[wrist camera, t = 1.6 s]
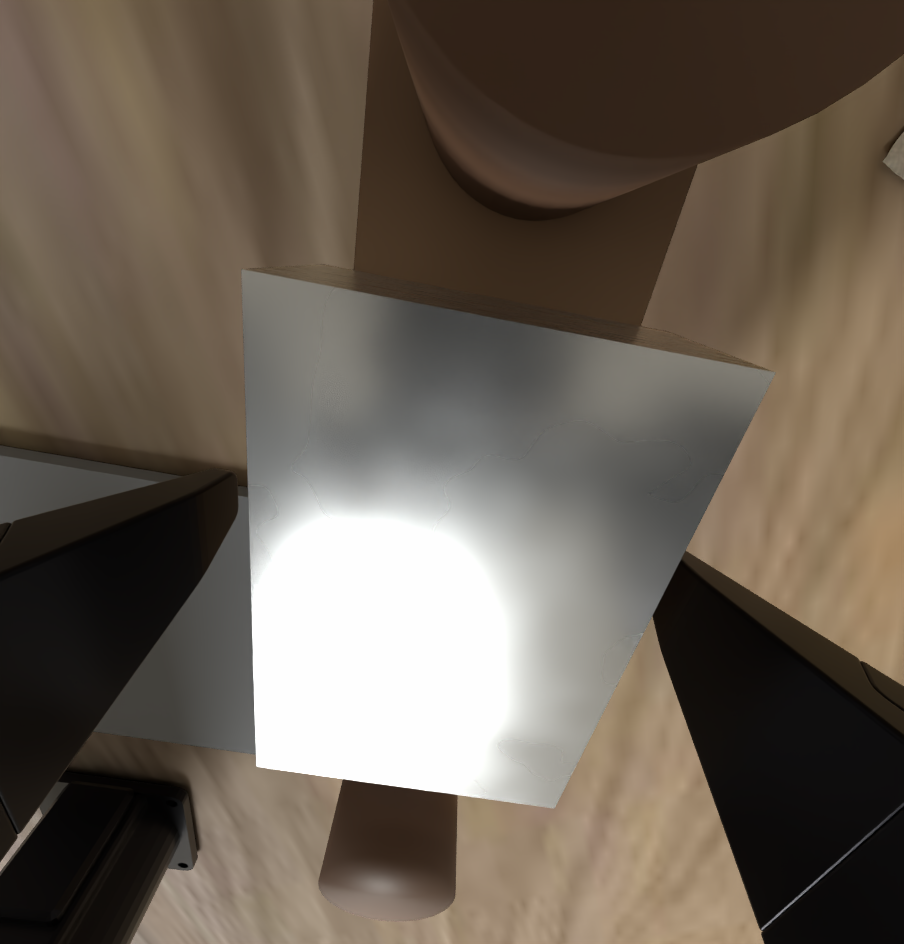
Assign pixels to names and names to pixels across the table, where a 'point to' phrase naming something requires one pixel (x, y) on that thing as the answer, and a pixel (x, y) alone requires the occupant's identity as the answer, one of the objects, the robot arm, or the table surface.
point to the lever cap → (462, 521)
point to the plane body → (557, 217)
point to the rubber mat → (191, 631)
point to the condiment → (896, 157)
